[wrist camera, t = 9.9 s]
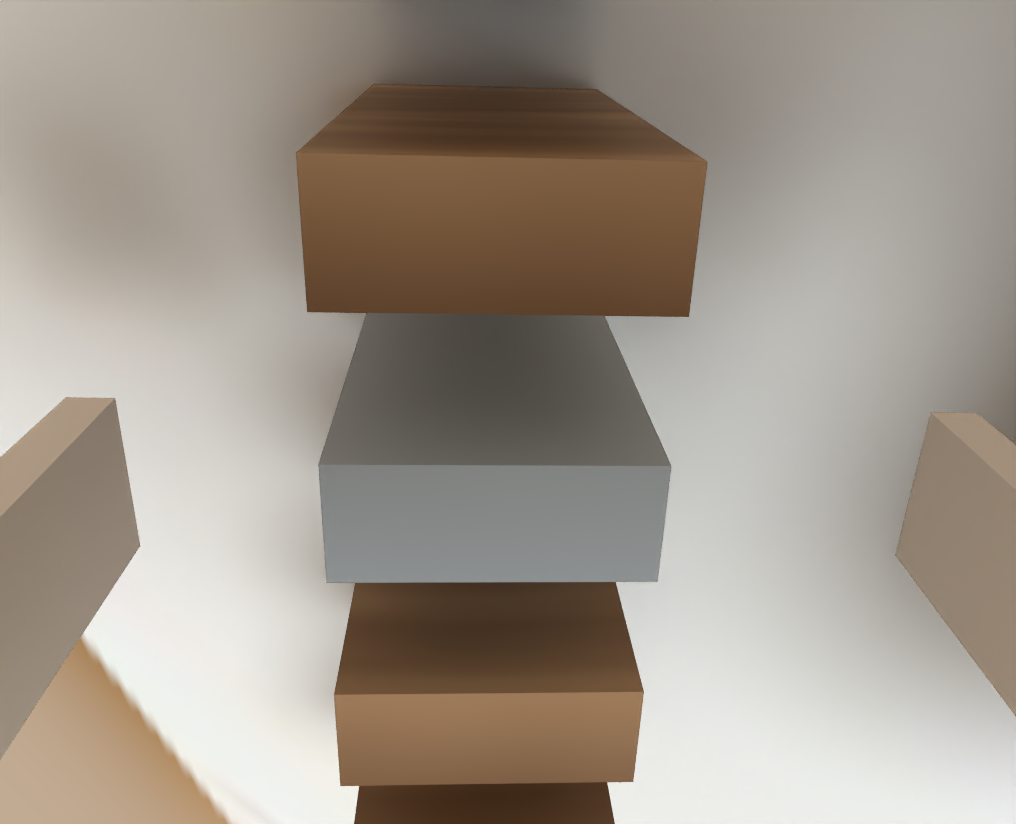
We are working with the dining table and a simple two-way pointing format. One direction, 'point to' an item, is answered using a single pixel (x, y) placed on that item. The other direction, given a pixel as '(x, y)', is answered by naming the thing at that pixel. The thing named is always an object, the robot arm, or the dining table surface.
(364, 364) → the domino
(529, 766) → the domino
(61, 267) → the dining table surface
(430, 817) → the domino
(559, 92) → the domino
